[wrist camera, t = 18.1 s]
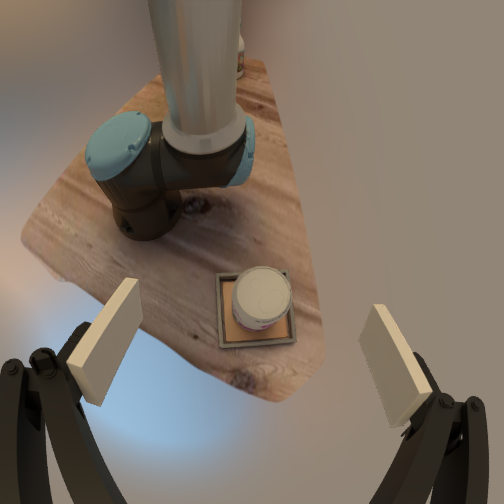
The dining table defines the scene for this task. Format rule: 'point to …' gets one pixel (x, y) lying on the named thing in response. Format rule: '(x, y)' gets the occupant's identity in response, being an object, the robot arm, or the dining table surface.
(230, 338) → the tray
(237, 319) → the supplement can
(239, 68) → the milk bottle
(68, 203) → the dining table surface
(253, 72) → the dining table surface
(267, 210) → the dining table surface
